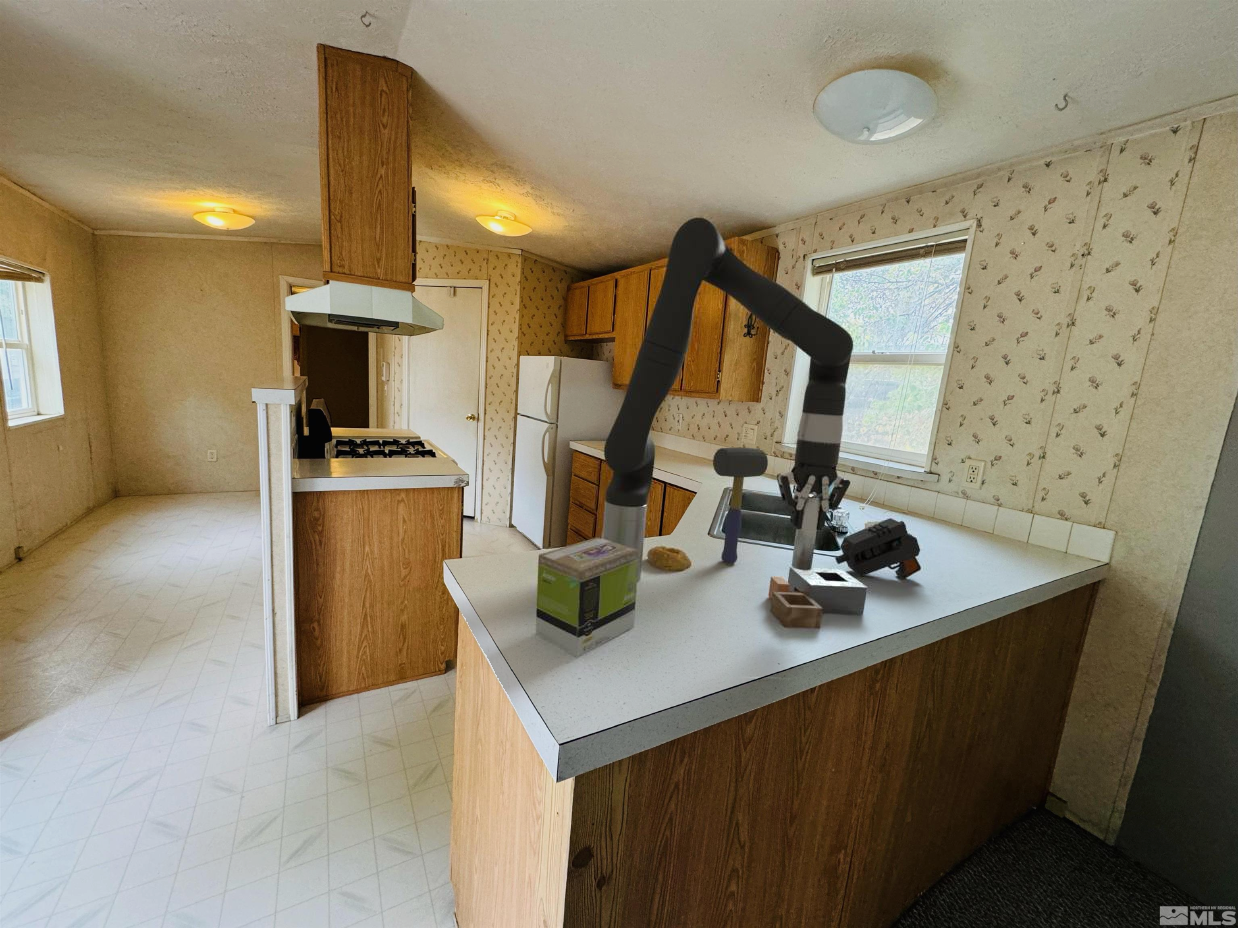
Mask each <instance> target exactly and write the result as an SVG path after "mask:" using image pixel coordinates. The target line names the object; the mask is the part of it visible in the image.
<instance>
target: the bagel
mask: <svg viewBox="0 0 1238 928" xmlns="http://www.w3.org/2000/svg"><path fill="white" fill-rule="evenodd" d="M646 557H647V560H648V562H649V564H650V565H651V566H652V567H654V568H656V569H660V570H662V571H670V572H672V571H673V572H678V571H685V570H686V569H689V568H691V567H692V561H691V559H690V558H689V556H688V555H687V553H686V552H684V551H683V550H681V549H678V548H675V547H667V546H664V545H660V546H658V545H657V546H654V547H652V548H650V549H649V550H648V551H647V555H646Z"/></svg>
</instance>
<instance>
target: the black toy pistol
mask: <svg viewBox="0 0 1238 928" xmlns="http://www.w3.org/2000/svg"><path fill="white" fill-rule="evenodd" d="M840 549H841V551H842V554H840V555H838V556H835V557H834V559H835V562H836V563H837V564H838V565H840V564H843V563H846V564H847V567H848V568H849V569H850V570H851V571H853V572H854V573H855V574H857V575H858V576H861V577H863V576H867V575H869V574H871V573H874V572H877V571H880V570H883V569H885V568H888V569H890V570H895V571H894V572H895V575H896V576H897V577H899V578H900V579H901V580H905V579H907V578H908V577H911V576H912V575H913V574H915V573H917V572H919V571H921V568H922V567H921V565H920V563H919V561H918V559H917V557H919V555H920V553H921V547H920V545H919V542H918V538H917V537H915V536H913V535H912V534H911V533H908V530H907V526H906V523H905V522H904V521H903V520H900V521H898V520H896V519H893V518H890V517H889V518H888V519H887V518H886V519H884V520H882V522H879V523H878V524H874V525H873V527H872V526H870V527H868V529H867V528H865V527H864V528H863V529H861V530H859V531H856V532H854V533H852V534H849V535H847V536H845V537H844V538H843V540H842V542H841V544H840Z"/></svg>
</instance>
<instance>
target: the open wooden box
mask: <svg viewBox="0 0 1238 928" xmlns="http://www.w3.org/2000/svg"><path fill="white" fill-rule="evenodd" d="M770 600H771V602H770V608H769V609H770V612H771V613H772V614H773V616H774V617H775V618H776V619H777V620H778V621H779V623H780V624H781V625H782V626H783V627H784V628H798V629H799V628H800V629H801V628H803V629H820V628H821V623H822V618H823V614H822V611H823V608H822V607H821V606H820V605H818V604H817V603H816V602H815V601H814V600H813V599H812V598H811V597H810V596H809V595H808V594H806V593H792V592H773V593H772V599H770Z"/></svg>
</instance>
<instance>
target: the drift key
mask: <svg viewBox="0 0 1238 928" xmlns="http://www.w3.org/2000/svg"><path fill="white" fill-rule="evenodd" d="M769 581H770V582H769V588H768V595H767V596H768V597H769V598H770V600H772V593H773V592H792V593H801V592H800V591H789V585H790V584H789V583H788V581H787V580H785V578H784V577H782V576H770V579H769Z"/></svg>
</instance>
